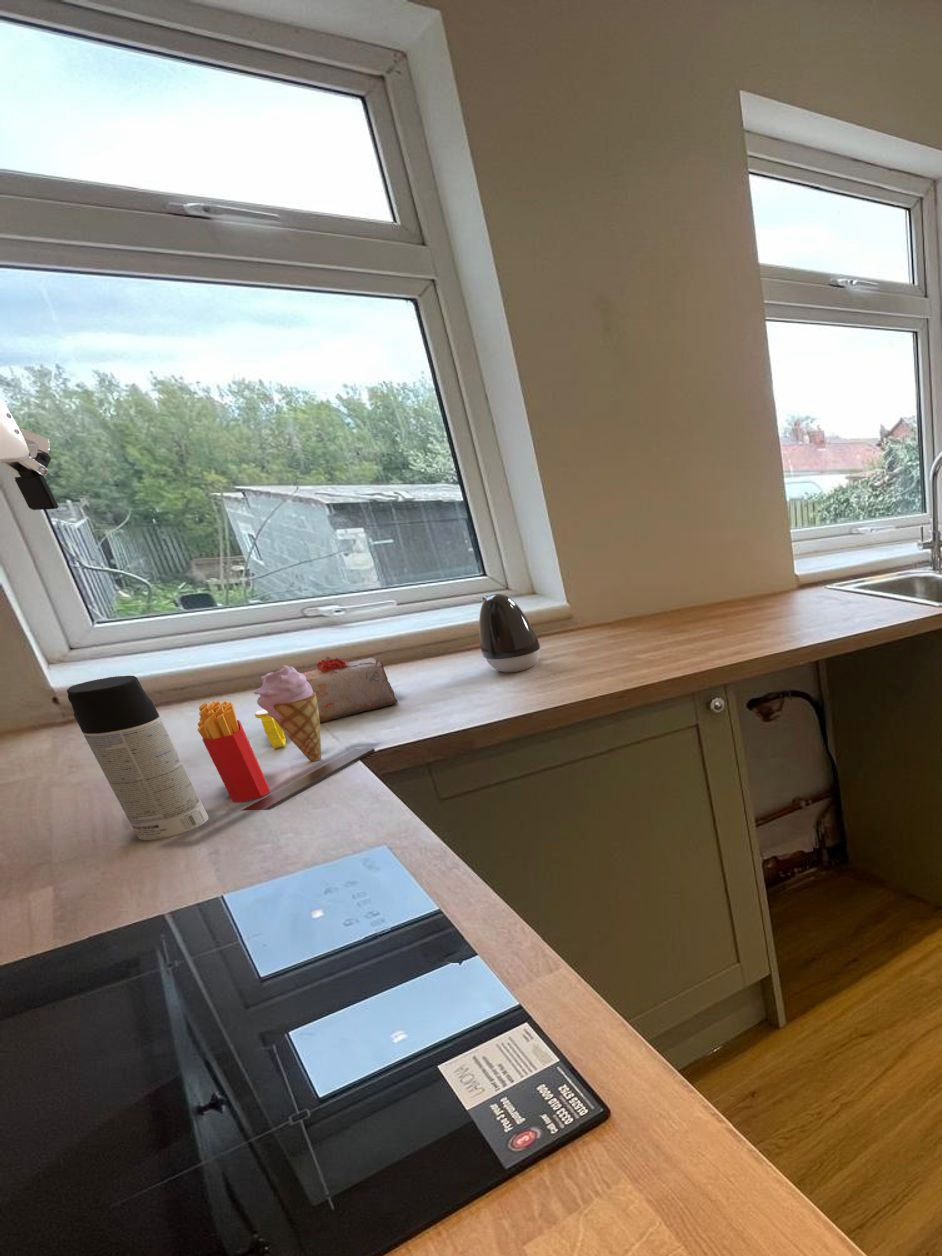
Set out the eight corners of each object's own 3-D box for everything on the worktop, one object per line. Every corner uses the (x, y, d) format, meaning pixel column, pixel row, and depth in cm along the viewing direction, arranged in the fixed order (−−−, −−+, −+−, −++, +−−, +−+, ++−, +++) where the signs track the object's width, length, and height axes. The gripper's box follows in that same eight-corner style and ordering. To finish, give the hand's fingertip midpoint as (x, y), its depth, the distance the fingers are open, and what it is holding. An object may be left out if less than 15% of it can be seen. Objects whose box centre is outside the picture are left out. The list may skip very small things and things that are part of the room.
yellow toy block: (270, 742, 131) (255, 707, 129) (292, 737, 133) (277, 703, 130) (268, 753, 127) (252, 717, 124) (290, 748, 128) (275, 713, 126)
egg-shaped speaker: (529, 658, 171) (509, 586, 165) (554, 665, 165) (534, 591, 159) (478, 671, 163) (455, 597, 157) (502, 679, 157) (479, 602, 151)
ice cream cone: (315, 769, 120) (274, 672, 114) (274, 770, 120) (231, 674, 114) (349, 751, 126) (312, 658, 120) (310, 752, 126) (271, 660, 120)
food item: (307, 728, 136) (284, 672, 132) (297, 718, 141) (275, 664, 137) (401, 705, 146) (382, 652, 142) (389, 696, 151) (370, 645, 147)
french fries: (228, 788, 115) (187, 702, 109) (267, 778, 117) (229, 694, 112) (232, 808, 108) (189, 718, 103) (273, 797, 111) (233, 708, 106)
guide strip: (173, 850, 98) (171, 847, 98) (356, 751, 126) (355, 748, 125) (197, 849, 98) (195, 846, 98) (375, 751, 126) (374, 748, 125)
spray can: (210, 815, 107) (140, 670, 99) (213, 831, 102) (139, 681, 94) (141, 833, 103) (61, 684, 95) (140, 852, 98) (57, 696, 90)
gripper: (-22, 364, 100) (48, 507, 107) (-216, 357, 84) (-119, 525, 91) (36, 361, 100) (103, 504, 107) (-147, 354, 84) (-55, 522, 91)
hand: (1, 514), depth 99 cm, fingers open, 9 cm apart
